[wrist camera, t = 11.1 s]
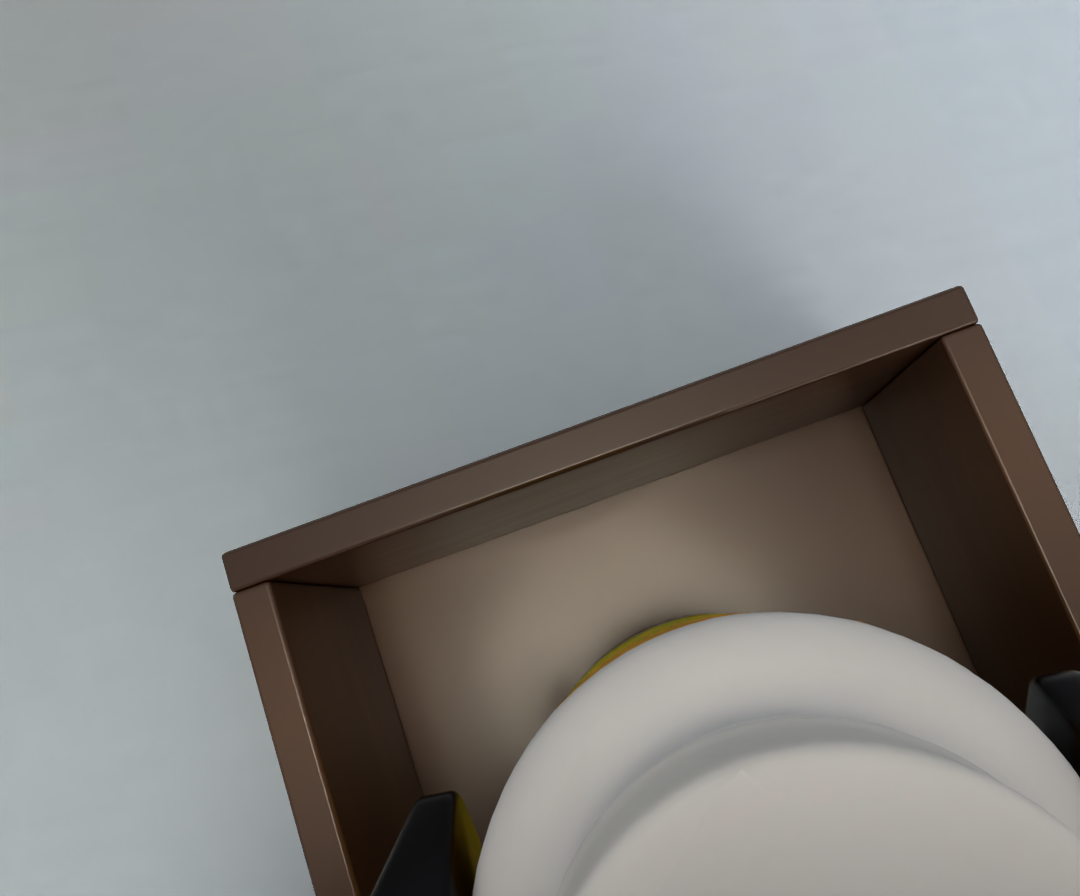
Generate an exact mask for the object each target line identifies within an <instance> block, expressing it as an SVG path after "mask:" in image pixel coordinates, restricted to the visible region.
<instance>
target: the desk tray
mask: <svg viewBox="0 0 1080 896" xmlns="http://www.w3.org/2000/svg"><path fill="white" fill-rule="evenodd" d="M977 322H978V318H977V316H976V314H975V311H974V309H973V307H972V305H971V303H970V301H969V299H968V297H967V294H966V292H965V290H964V288H963V287H962V286H956V287H954V288H951V289H948V290H945V291H943V292H940V293H937V294H934V295H932V296H929V297H926V298H923V299H921V300H918V301H915V302H912V303H910V304H907V305H904V306H901V307H899V308H896V309H893V310H890V311H888V312H885V313H882V314H879V315H877V316H874V317H871V318H868V319H866V320H863V321H860V322H857V323H855V324H852V325H849V326H846V327H844V328H841V329H838V330H835V331H833V332H830V333H827V334H824V335H822V336H819V337H816V338H813V339H811V340H808V341H805V342H802V343H800V344H797V345H794V346H791V347H789V348H786V349H783V350H781V351H778V352H775V353H772V354H770V355H767V356H764V357H761V358H759V359H756V360H753V361H750V362H748V363H745V364H742V365H739V366H737V367H734V368H731V369H728V370H726V371H723V372H720V373H717V374H715V375H712V376H709V377H706V378H704V379H701V380H698V381H695V382H693V383H690V384H687V385H684V386H682V387H679V388H676V389H673V390H671V391H668V392H665V393H662V394H660V395H657V396H654V397H651V398H649V399H646V400H643V401H640V402H638V403H635V404H632V405H629V406H627V407H624V408H621V409H618V410H616V411H613V412H610V413H607V414H605V415H602V416H599V417H596V418H594V419H591V420H588V421H585V422H583V423H580V424H577V425H574V426H572V427H569V428H566V429H563V430H561V431H558V432H555V433H552V434H550V435H547V436H544V437H542V438H539V439H536V440H533V441H531V442H528V443H525V444H522V445H520V446H517V447H514V448H511V449H509V450H506V451H503V452H500V453H498V454H495V455H492V456H489V457H487V458H484V459H481V460H478V461H476V462H473V463H470V464H467V465H465V466H462V467H459V468H456V469H454V470H451V471H448V472H445V473H443V474H440V475H437V476H434V477H432V478H429V479H426V480H423V481H421V482H418V483H415V484H412V485H410V486H407V487H404V488H401V489H399V490H396V491H393V492H390V493H388V494H385V495H382V496H379V497H377V498H374V499H371V500H368V501H366V502H363V503H360V504H357V505H355V506H352V507H349V508H346V509H344V510H341V511H338V512H335V513H333V514H330V515H327V516H324V517H322V518H319V519H316V520H313V521H311V522H308V523H305V524H303V525H300V526H297V527H294V528H292V529H289V530H286V531H283V532H281V533H278V534H275V535H272V536H270V537H267V538H264V539H261V540H259V541H256V542H253V543H250V544H248V545H245V546H242V547H239V548H237V549H234V550H231V551H228V552H226V553H224V554H223V555H222V560H223V563H224V567H225V570H226V574H227V578H228V581H229V585H230V589H231V590H232V591H233V592H237V593H235V594H234V595H233V599H234V602H235V606H236V610H237V613H238V617H239V621H240V624H241V628H242V631H243V635H244V639H245V642H246V646H247V649H248V653H249V657H250V660H251V664H252V667H253V671H254V675H255V678H256V682H257V686H258V689H259V693H260V696H261V700H262V704H263V707H264V711H265V714H266V718H267V722H268V725H269V729H270V732H271V736H272V740H273V743H274V747H275V751H276V754H277V758H278V761H279V765H280V769H281V772H282V776H283V779H284V783H285V787H286V790H287V794H288V797H289V801H290V805H291V808H292V812H293V816H294V819H295V823H296V826H297V830H298V834H299V837H300V841H301V844H302V848H303V852H304V855H305V859H306V862H307V866H308V870H309V873H310V877H311V881H312V884H313V888H314V891H315V895H316V896H371V894H372V891H373V889H374V887H375V885H376V883H377V881H378V879H379V877H380V875H381V873H382V870H383V868H384V866H385V864H386V862H387V860H388V858H389V856H390V854H391V851H392V849H393V847H394V845H395V843H396V841H397V839H398V837H399V835H400V832H401V830H402V828H403V826H404V824H405V822H406V820H407V818H408V816H409V814H410V811H411V809H412V807H413V805H414V803H415V802H416V801H417V800H418V799H419V798H420V797H422V796H424V795H429V794H434V793H439V792H444V791H449V790H455V791H457V792H458V793H459V794H460V795H461V796H462V798H463V801H464V803H465V805H466V808H467V810H468V812H469V815H470V817H471V819H472V821H473V824H474V826H475V828H476V831H477V833H478V836H479V839H480V842H481V847H483V843H484V840H485V837H486V833H487V830H488V827H489V824H490V821H491V818H492V815H493V813H494V811H495V808H496V806H497V803H498V801H499V799H500V796H501V794H502V791H503V789H504V786H505V785H506V783H507V781H508V779H509V777H510V775H511V773H512V771H513V769H514V767H515V766H516V764H517V762H518V761H519V759H520V757H521V756H522V754H523V752H524V751H525V749H526V748H527V746H528V744H529V743H530V741H531V740H532V739H533V737H534V736H535V734H536V733H537V732H538V730H539V729H540V728H541V726H542V725H543V724H544V722H545V721H546V720H547V719H548V717H549V716H550V715H551V714H552V713H553V711H554V710H555V709H556V708H557V707H558V706H559V705H560V704H561V703H562V702H563V701H564V699H565V698H566V697H567V696H568V694H569V693H570V692H571V691H572V690H573V688H574V687H575V686H576V684H577V683H578V682H579V681H580V679H581V678H582V677H583V676H584V674H585V673H586V672H587V671H588V670H589V669H590V668H591V667H592V666H593V665H594V664H595V663H596V662H597V661H598V660H599V659H600V658H601V657H602V656H604V655H605V654H606V653H607V652H608V651H610V650H611V649H612V648H614V647H615V646H617V645H618V644H620V643H622V642H623V641H625V640H626V639H628V638H629V637H631V636H633V635H635V634H637V633H638V632H640V631H642V630H645V629H647V628H649V627H652V626H654V625H657V624H660V623H663V622H666V621H669V620H672V619H675V618H681V617H687V616H693V615H702V614H731V613H761V612H790V613H805V614H818V615H824V616H831V617H837V618H843V619H848V620H855V621H860V622H863V623H866V624H869V625H872V626H875V627H878V628H881V629H884V630H887V631H889V632H892V633H895V634H898V635H901V636H904V637H906V638H908V639H911V640H913V641H915V642H917V643H920V644H922V645H924V646H926V647H929V648H931V649H933V650H935V651H937V652H939V653H941V654H943V655H945V656H947V657H949V658H950V659H952V660H953V661H955V662H957V663H958V664H960V665H962V666H963V667H965V668H967V669H968V670H969V671H971V672H972V673H973V674H975V675H976V676H978V677H979V678H981V679H982V680H984V681H985V682H987V683H988V684H990V685H991V686H993V687H994V688H995V689H996V690H997V691H999V692H1000V693H1001V694H1002V695H1004V696H1005V697H1006V698H1007V699H1008V700H1010V701H1011V702H1012V703H1013V704H1014V705H1015V706H1016V707H1017V708H1018V709H1019V710H1020V711H1021V712H1023V713H1024V714H1025V712H1026V703H1027V695H1028V687H1029V684H1030V682H1031V681H1032V679H1033V678H1034V677H1036V676H1040V675H1045V674H1050V673H1056V672H1061V671H1066V670H1074V671H1078V672H1080V534H1079V532H1078V530H1077V528H1076V526H1075V523H1074V521H1073V519H1072V517H1071V515H1070V513H1069V511H1068V509H1067V506H1066V504H1065V502H1064V500H1063V498H1062V496H1061V494H1060V491H1059V489H1058V487H1057V485H1056V483H1055V481H1054V479H1053V477H1052V474H1051V472H1050V470H1049V468H1048V466H1047V464H1046V462H1045V460H1044V457H1043V455H1042V453H1041V451H1040V449H1039V447H1038V445H1037V443H1036V440H1035V438H1034V436H1033V434H1032V432H1031V430H1030V428H1029V425H1028V423H1027V421H1026V419H1025V417H1024V415H1023V413H1022V411H1021V408H1020V406H1019V404H1018V402H1017V400H1016V398H1015V396H1014V394H1013V391H1012V389H1011V387H1010V385H1009V383H1008V381H1007V379H1006V377H1005V374H1004V372H1003V370H1002V368H1001V366H1000V364H999V362H998V359H997V357H996V355H995V353H994V351H993V349H992V347H991V345H990V342H989V340H988V338H987V336H986V334H985V332H984V330H983V328H982V326H981V325H980V324H976V323H977Z"/></svg>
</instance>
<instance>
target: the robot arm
mask: <svg viewBox="0 0 1080 896" xmlns="http://www.w3.org/2000/svg"><path fill="white" fill-rule="evenodd" d="M1025 715H1026V716H1027V717H1028V718H1029V719H1030V720H1031V721H1032V722H1033V723H1034V724H1035V725H1036V726H1037V727H1038V728H1039V729H1040V730H1041V731H1042V732H1043V733H1044V734H1045V735H1046V736H1047V737H1048V738H1049V740H1050V741H1051V742H1052V743H1053V744H1054V745H1055V746H1056V748H1057V749H1058V750H1059V751H1060V752H1061V754H1062V755H1063V756H1064V757H1065V758H1066V760H1067V761H1068V762H1069V763H1070V765H1071V766H1072V767H1073V769H1074V770H1075V772H1076V773H1077V774H1078V776H1079V777H1080V672H1078V671H1074V670H1066V671H1061V672H1056V673H1050V674H1045V675H1040V676H1036V677H1034V678H1033V679H1032V681H1031V682H1030V684H1029V687H1028V695H1027V703H1026V712H1025ZM481 850H482V847H481V842H480V839H479V836H478V833H477V831H476V828H475V826H474V824H473V821H472V819H471V817H470V815H469V812H468V810H467V808H466V805H465V803H464V801H463V798H462V796H461V795H460V794H459V793H458V792H457V791H455V790H449V791H444V792H439V793H434V794H429V795H424V796H422V797H420V798H419V799H418V800H417V801H416V802H415V803H414V805H413V807H412V809H411V811H410V814H409V816H408V818H407V820H406V822H405V824H404V826H403V828H402V830H401V832H400V835H399V837H398V839H397V841H396V843H395V845H394V847H393V849H392V851H391V854H390V856H389V858H388V860H387V862H386V864H385V866H384V868H383V870H382V873H381V875H380V877H379V879H378V881H377V883H376V885H375V887H374V889H373V891H372V894H371V896H472V894H473V888H474V882H475V876H476V870H477V865H478V861H479V858H480V854H481Z"/></svg>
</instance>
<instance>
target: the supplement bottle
mask: <svg viewBox="0 0 1080 896" xmlns="http://www.w3.org/2000/svg"><path fill="white" fill-rule="evenodd" d="M472 896H1080V777H1079V776H1078V774H1077V773H1076V772H1075V770H1074V769H1073V767H1072V766H1071V765H1070V763H1069V762H1068V761H1067V760H1066V758H1065V757H1064V756H1063V755H1062V754H1061V752H1060V751H1059V750H1058V749H1057V748H1056V746H1055V745H1054V744H1053V743H1052V742H1051V741H1050V740H1049V738H1048V737H1047V736H1046V735H1045V734H1044V733H1043V732H1042V731H1041V730H1040V729H1039V728H1038V727H1037V726H1036V725H1035V724H1034V723H1033V722H1032V721H1031V720H1030V719H1029V718H1028V717H1027V716H1026V715H1025V714H1024V713H1023V712H1021V711H1020V710H1019V709H1018V708H1017V707H1016V706H1015V705H1014V704H1013V703H1012V702H1011V701H1010V700H1008V699H1007V698H1006V697H1005V696H1004V695H1002V694H1001V693H1000V692H999V691H997V690H996V689H995V688H994V687H993V686H991V685H990V684H988V683H987V682H985V681H984V680H982V679H981V678H979V677H978V676H976V675H975V674H973V673H972V672H971V671H969V670H968V669H967V668H965V667H963V666H962V665H960V664H958V663H957V662H955V661H953V660H952V659H950V658H949V657H947V656H945V655H943V654H941V653H939V652H937V651H935V650H933V649H931V648H929V647H926V646H924V645H922V644H920V643H917V642H915V641H913V640H911V639H908V638H906V637H904V636H901V635H898V634H895V633H892V632H889V631H887V630H884V629H881V628H878V627H875V626H872V625H869V624H866V623H863V622H860V621H855V620H848V619H843V618H837V617H831V616H824V615H818V614H805V613H790V612H761V613H731V614H702V615H693V616H687V617H681V618H675V619H672V620H669V621H666V622H663V623H660V624H657V625H654V626H652V627H649V628H647V629H645V630H642V631H640V632H638V633H637V634H635V635H633V636H631V637H629V638H628V639H626V640H625V641H623V642H622V643H620V644H618V645H617V646H615V647H614V648H612V649H611V650H610V651H608V652H607V653H606V654H605V655H604V656H602V657H601V658H600V659H599V660H598V661H597V662H596V663H595V664H594V665H593V666H592V667H591V668H590V669H589V670H588V671H587V672H586V673H585V674H584V676H583V677H582V678H581V679H580V681H579V682H578V683H577V684H576V686H575V687H574V688H573V690H572V691H571V692H570V693H569V694H568V696H567V697H566V698H565V699H564V701H563V702H562V703H561V704H560V705H559V706H558V707H557V708H556V709H555V710H554V711H553V713H552V714H551V715H550V716H549V717H548V719H547V720H546V721H545V722H544V724H543V725H542V726H541V728H540V729H539V730H538V732H537V733H536V734H535V736H534V737H533V739H532V740H531V741H530V743H529V744H528V746H527V748H526V749H525V751H524V752H523V754H522V756H521V757H520V759H519V761H518V762H517V764H516V766H515V767H514V769H513V771H512V773H511V775H510V777H509V779H508V781H507V783H506V785H505V786H504V789H503V791H502V794H501V796H500V799H499V801H498V803H497V806H496V808H495V811H494V813H493V815H492V818H491V821H490V824H489V827H488V830H487V833H486V837H485V840H484V843H483V847H482V850H481V854H480V858H479V861H478V865H477V870H476V876H475V882H474V888H473V894H472Z"/></svg>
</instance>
